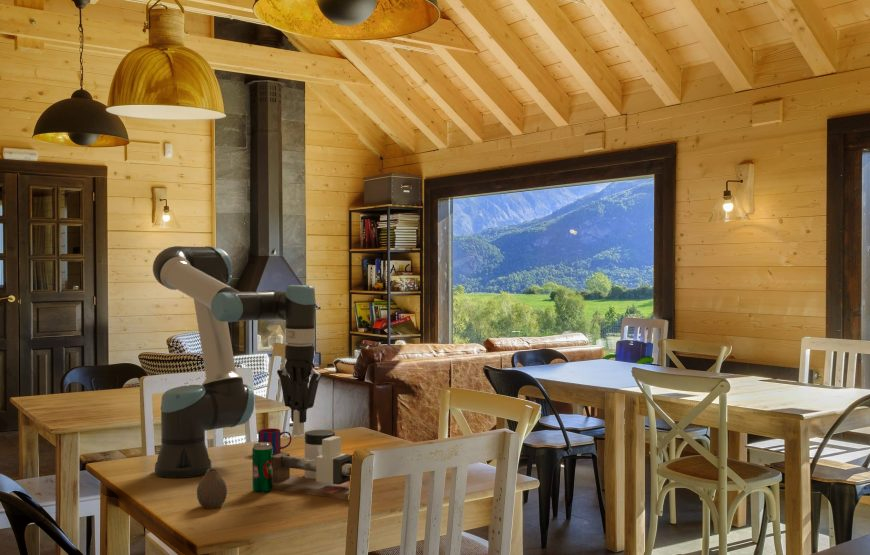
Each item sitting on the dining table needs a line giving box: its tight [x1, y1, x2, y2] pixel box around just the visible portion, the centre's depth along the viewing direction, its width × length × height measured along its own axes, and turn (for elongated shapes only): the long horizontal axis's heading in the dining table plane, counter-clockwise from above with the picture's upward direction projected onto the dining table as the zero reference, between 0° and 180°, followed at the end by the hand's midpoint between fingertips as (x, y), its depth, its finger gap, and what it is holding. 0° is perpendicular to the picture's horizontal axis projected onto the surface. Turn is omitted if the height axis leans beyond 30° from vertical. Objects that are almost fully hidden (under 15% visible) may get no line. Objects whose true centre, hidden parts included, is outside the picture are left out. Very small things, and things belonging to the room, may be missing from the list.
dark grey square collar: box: [333, 453, 354, 485], centre depth 215 cm, size 2×6×6 cm, turn 153°
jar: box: [304, 429, 336, 479], centre depth 231 cm, size 9×8×12 cm
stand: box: [272, 452, 351, 501], centre depth 218 cm, size 26×10×8 cm, turn 63°
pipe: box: [280, 455, 351, 476], centre depth 218 cm, size 24×3×3 cm, turn 63°
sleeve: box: [316, 435, 347, 484], centre depth 216 cm, size 5×6×11 cm
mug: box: [257, 428, 292, 455], centre depth 261 cm, size 7×10×7 cm
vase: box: [196, 468, 228, 510], centre depth 202 cm, size 7×7×9 cm
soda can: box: [251, 442, 274, 494], centre depth 216 cm, size 5×5×12 cm
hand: (298, 434), depth 222 cm, fingers closed
